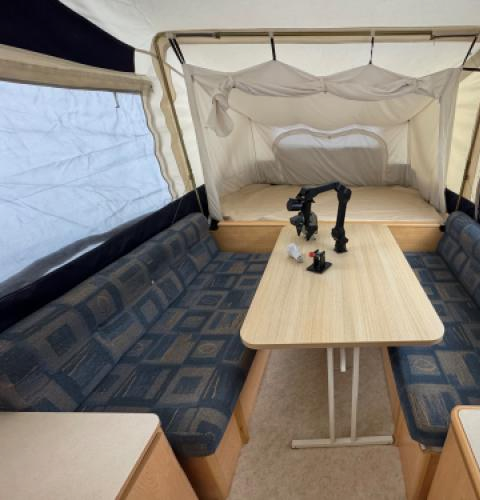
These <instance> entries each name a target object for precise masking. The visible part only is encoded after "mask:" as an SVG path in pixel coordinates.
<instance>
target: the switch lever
mask: <svg viewBox="0 0 480 500" xmlns="http://www.w3.org/2000/svg"><path fill="white" fill-rule="evenodd" d="M321 252H322V251H319V252H317V253H314V251H310V252H309V253H308V256H309V257H310V258H311V259H313V257H314V256H317V257H319V258H320V253H321Z"/></svg>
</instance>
